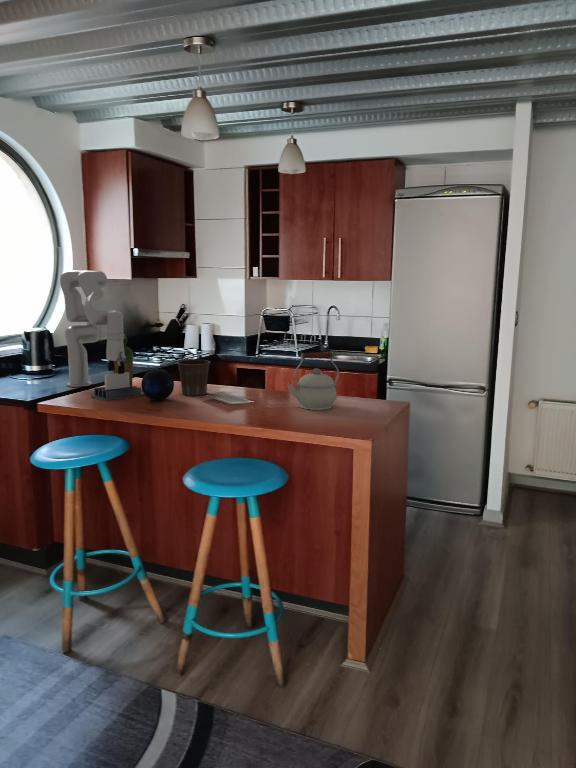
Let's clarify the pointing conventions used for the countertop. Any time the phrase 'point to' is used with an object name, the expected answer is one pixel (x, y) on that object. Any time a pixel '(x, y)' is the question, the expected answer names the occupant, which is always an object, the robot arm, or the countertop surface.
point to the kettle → (315, 386)
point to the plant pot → (193, 376)
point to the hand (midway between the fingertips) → (116, 372)
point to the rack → (116, 393)
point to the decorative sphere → (157, 384)
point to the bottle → (128, 363)
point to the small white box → (116, 381)
